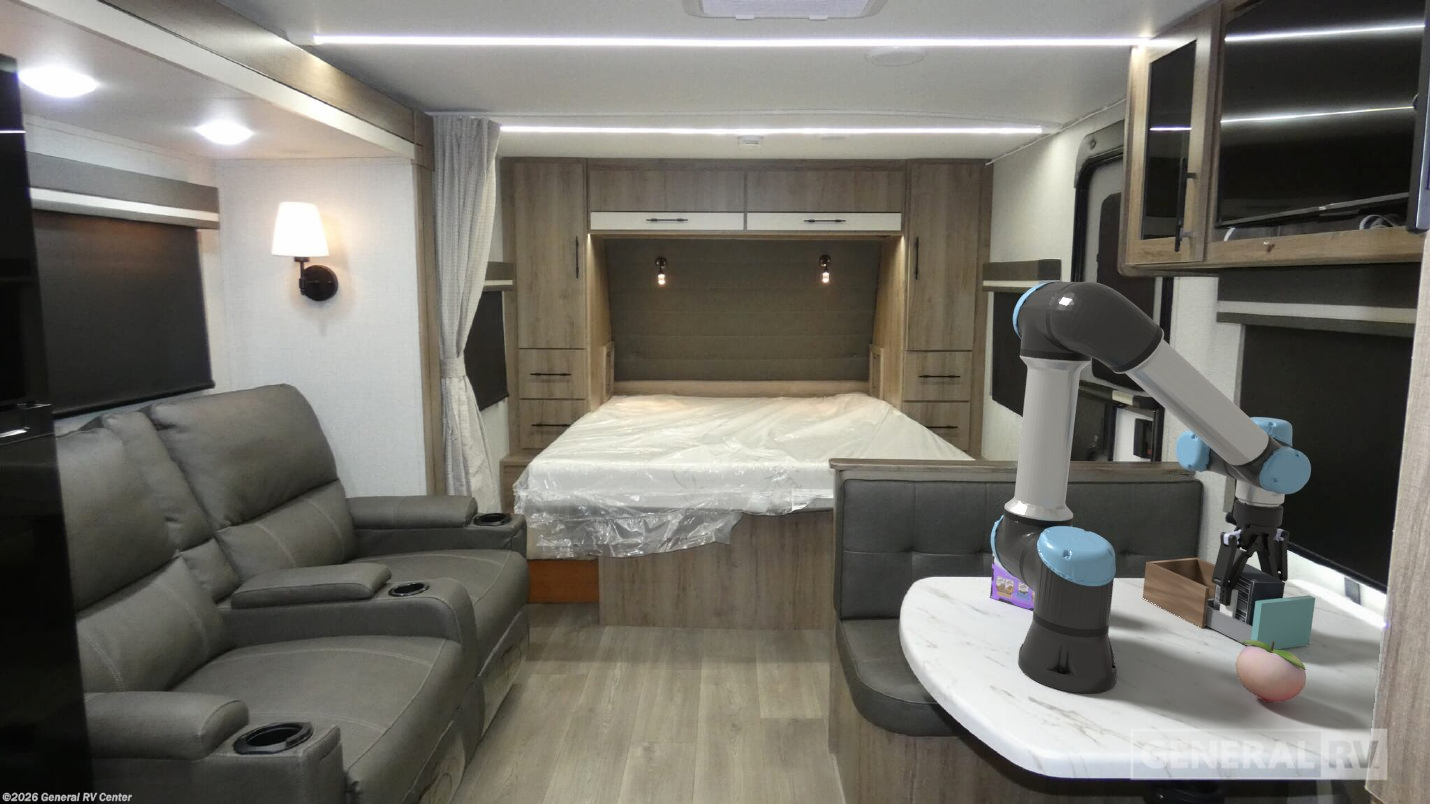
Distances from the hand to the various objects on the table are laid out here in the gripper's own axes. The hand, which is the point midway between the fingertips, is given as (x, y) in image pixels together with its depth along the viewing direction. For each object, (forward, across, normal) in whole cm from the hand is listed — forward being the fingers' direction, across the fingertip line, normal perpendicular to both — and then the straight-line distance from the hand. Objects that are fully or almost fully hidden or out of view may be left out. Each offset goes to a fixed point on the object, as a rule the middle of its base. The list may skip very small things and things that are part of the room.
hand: (1245, 618), depth 153 cm
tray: (+3, 0, 0) cm, 3 cm away
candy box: (+3, -32, +21) cm, 38 cm away
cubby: (+3, 0, +10) cm, 10 cm away
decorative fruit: (+3, -20, -22) cm, 30 cm away
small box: (+1, 0, 0) cm, 1 cm away
